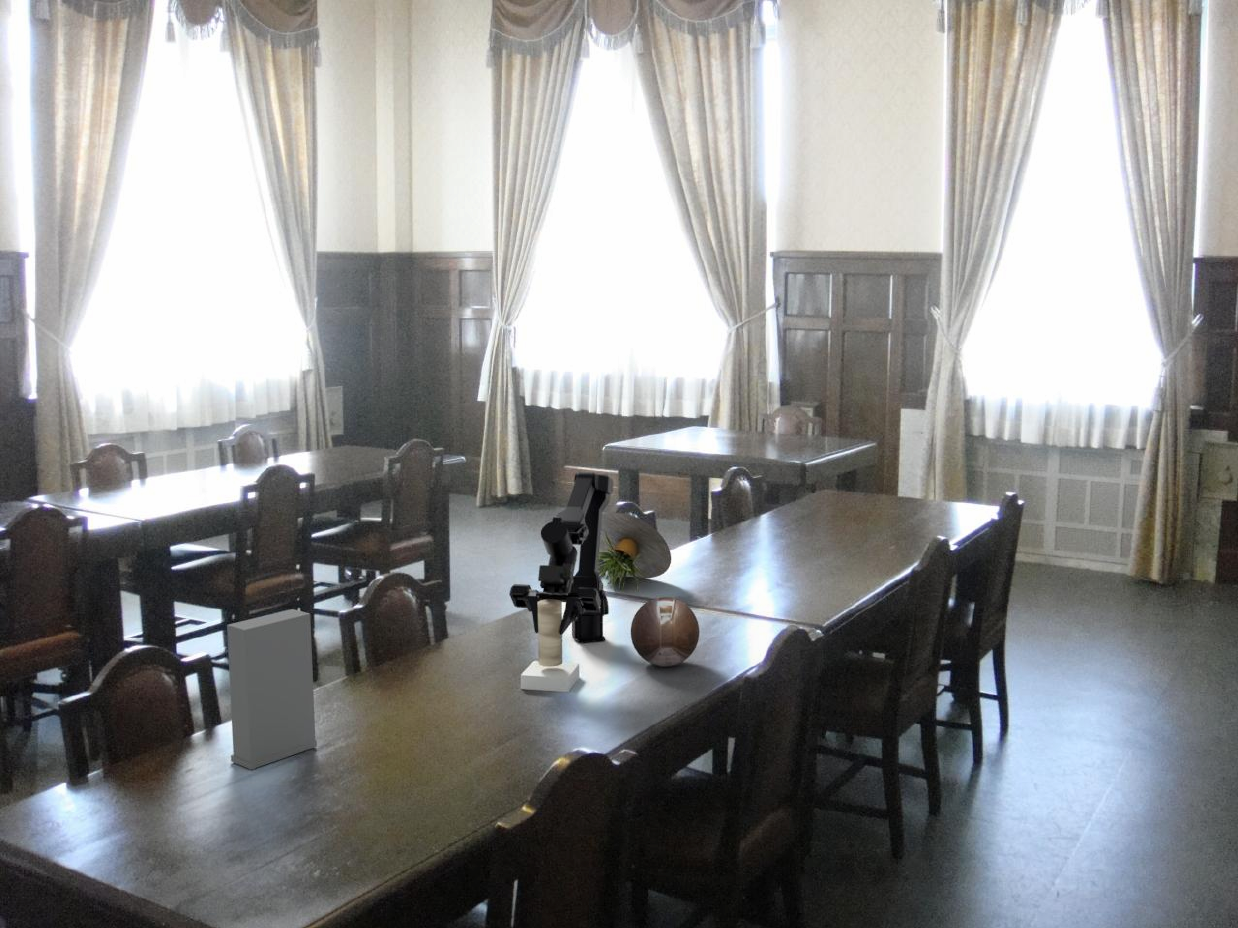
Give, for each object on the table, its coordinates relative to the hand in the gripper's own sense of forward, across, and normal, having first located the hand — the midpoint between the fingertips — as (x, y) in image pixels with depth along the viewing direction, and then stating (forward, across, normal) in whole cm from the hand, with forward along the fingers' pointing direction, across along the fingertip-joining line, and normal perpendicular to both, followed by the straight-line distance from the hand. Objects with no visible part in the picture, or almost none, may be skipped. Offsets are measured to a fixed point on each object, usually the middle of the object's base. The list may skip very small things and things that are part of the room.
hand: (548, 633), depth 257 cm
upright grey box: (+41, -38, -26) cm, 62 cm away
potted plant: (-54, -2, +71) cm, 89 cm away
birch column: (+4, 0, +6) cm, 7 cm away
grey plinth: (+7, 0, +9) cm, 11 cm away
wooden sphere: (-5, +21, +21) cm, 30 cm away
